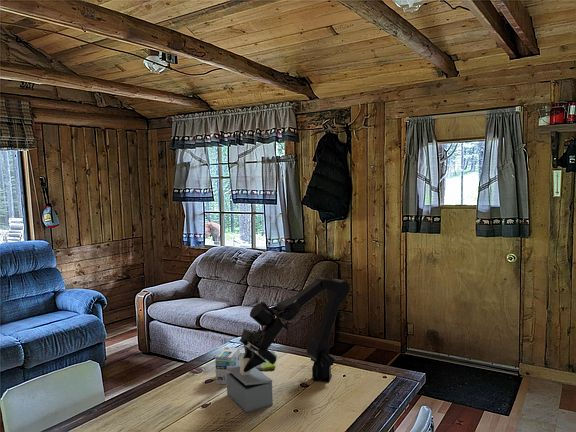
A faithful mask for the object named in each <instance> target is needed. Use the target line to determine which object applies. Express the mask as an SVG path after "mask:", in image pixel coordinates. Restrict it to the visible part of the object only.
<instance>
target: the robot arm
mask: <svg viewBox="0 0 576 432" xmlns="http://www.w3.org/2000/svg"><path fill="white" fill-rule="evenodd" d="M350 289H351V286H350V285H349V283H348V282H347V281H345V280H341V279H337V278H333V279H327V278H325V277H321V276H319V277H316V278H315V280H314V281H312V282H311V283H310V284H309V285H307V286H306V287H305V288H303V289H302V290H301V291H299V292H298V293H296V294H295V295H294V296H292V297H289V298H286V299H284V300H282V301H280V302H279V303H277V304H275V305H273V306H271V307H269V305H268V304H266V303H265V302H264V301H260V303H258V304H256V305H254V307H252V308H251V310H250V312H249V317H250V318H251V319H253V320H254V321H255V322H256V323H257V324H258V325H259V326H261V327H263V328H262V329H258V330H250V329H247V328H243V331H242V333H241V337H240V339H239V342H240V343H242V344H243V348H244V353H245V354H244V358H249V359H250V360H249V361H248V363H247V365H246V366H245V368H244V372H247V371H249V370H251V369H252V368H254V367H256V366H258V365H260V364H262V363H264V362H265V363H266V361H265V360H267V361H269V363H271V364H272V365H274V363H275V362H276V356H275V355H276V354H275V355H273V354H272V353H271V352H270V351H271V350H269V348H270V347H271V346H272V344H276V343H277V341H276V338H277V337H278V336H279V334H280V333H281V331H283V330H285V331H289V325H288V322H287V321H289V322H290V321H292V320H293V319H294V318H296V317H297V315H298V314H299V313H300V311H301V309H302V307H304V306H305V305H306V304H307V303H308V302H310V301H311V300H313V299H314V298H315V297H316V296H317V295H319V294H320V293H321V292H322V291H324V290H326V293H327V301H326V305H325V309H324V312H323V315H322V317H321V321H320V323H319V326H318V327H319V328H318V330H317V333H316V335H315V336H314V337H313V338H311V337H310V338H309V339H308V344H307V346H306V354H307V356H308V358H310V361H311V362H313V365H312V368H311V369H312V371H311V375H312V381H314V382H326V383H330V381H331V379H332V377H333V374H332V366H334V364H335V359H334V358H333V356H331V355H330V346H331V345H330V342H329V341H330V337H331V333H332V331H333V328H334V324H335V321H336V318H337V315H338V312H339V309H340V307H341V304H342V303H343V302H344V301H345V300H346V299H347V297H348V295H349V293H350ZM281 319H283V320H284V321H283V320H281ZM276 363H277V362H276Z"/></svg>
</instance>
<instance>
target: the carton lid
mask: <svg viewBox="0 0 576 432" xmlns="http://www.w3.org/2000/svg"><path fill="white" fill-rule="evenodd" d="M249 360H250V359H249V358H242V359H241V364H240V366H227V367H226V369H227V370H228V371H229V372H231V373H232V374H233V375H234V376H235V377H236V378H238V379H239V380H240V381H241V382H242V383H244V384H245V385H254V384H264V383H272V384H273V379H271V378H270V377H269V376H267V375H266V374H265V373H263V372H262V371H259V370H258V369H256V368H255V367H254V368H252V369H251V370H249V371H247V372H244V368H245V366H246V365H247V363H248V361H249Z"/></svg>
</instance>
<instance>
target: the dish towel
mask: <svg viewBox="0 0 576 432" xmlns="http://www.w3.org/2000/svg"><path fill="white" fill-rule="evenodd" d="M269 351H270V352H271V353H272V354H273V355H275V356H276V362H275V363H274V365H272V364H271V363H269V361H267V360H265V361H266V363H265V362H264V363H262V364H260V365H258V366H256V367H255V368H256V369H258V370H259V371H260V372H262V371H268V370H270V371H271V370H275V369H276V366H277V359H278V355H277V354H276V352H275V351H274V350H273V351H272V350H269ZM239 353H240V364H241V359H242V358H244V354H245V352H239Z"/></svg>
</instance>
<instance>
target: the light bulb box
mask: <svg viewBox="0 0 576 432" xmlns="http://www.w3.org/2000/svg"><path fill="white" fill-rule="evenodd" d="M240 353H241V352H240V347H227V346H223V347H222V349H221V350H220V351H219V352H218V353H217V354H216V355H215V356H214V357H215V359H214V360H215V378H216V380H215V382H216V384H217V385H218V384H219V385H220V384H221V385H227V376H226V374H227V373H231V372H229V371H228V370H227V369H226V367H227V366H240Z"/></svg>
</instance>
